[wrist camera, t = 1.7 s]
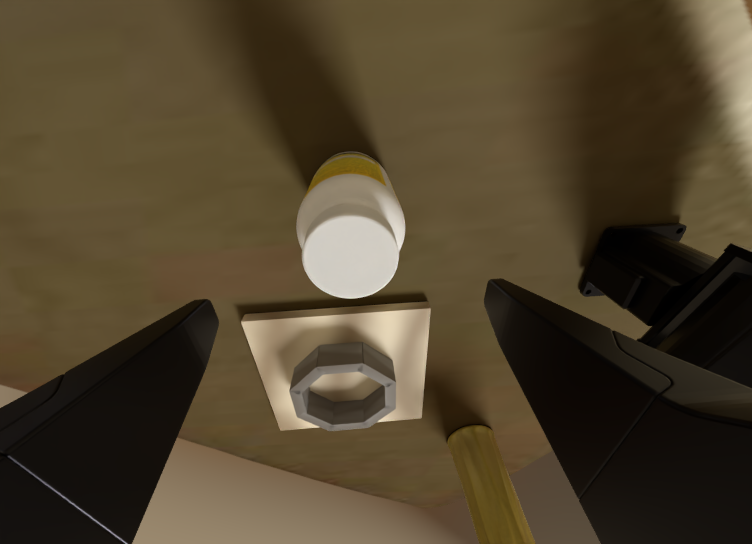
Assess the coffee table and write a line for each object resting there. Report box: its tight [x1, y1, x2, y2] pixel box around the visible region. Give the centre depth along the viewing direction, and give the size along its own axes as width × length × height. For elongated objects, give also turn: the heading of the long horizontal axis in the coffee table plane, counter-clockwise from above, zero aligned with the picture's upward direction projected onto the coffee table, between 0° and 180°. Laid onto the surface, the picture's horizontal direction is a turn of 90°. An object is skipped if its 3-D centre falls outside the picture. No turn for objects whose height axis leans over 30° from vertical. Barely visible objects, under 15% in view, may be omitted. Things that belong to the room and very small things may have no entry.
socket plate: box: [241, 301, 431, 431], centre depth 28 cm, size 16×16×4 cm
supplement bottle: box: [296, 152, 405, 299], centre depth 16 cm, size 5×5×10 cm
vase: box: [447, 425, 536, 544], centre depth 32 cm, size 6×6×14 cm
